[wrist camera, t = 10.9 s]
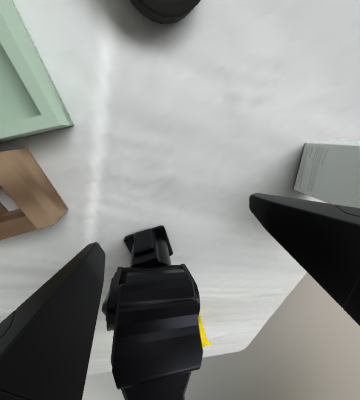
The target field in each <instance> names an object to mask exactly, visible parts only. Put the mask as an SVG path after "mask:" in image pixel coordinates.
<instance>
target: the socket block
mask: <svg viewBox="0 0 360 400" xmlns="http://www.w3.org/2000/svg"><path fill="white" fill-rule="evenodd" d="M0 186H1V187H2V188H3V189H4V190H5V191H6V193H7V194H8V195H9V196H10V197H11V198H12V200H13V201H14V202H15V203H16V204H17V206H18V207H19V208H20V209H17V210H13V211H10V212H9V211H8V210H7V209H6V208H5V207H4V206H3V205H2V204H1V202H0V240H2V239H5V238H9V237H12V236H16V235H19V234H23V233H26V232H30V231H33V230H37V229H40V228H44V227H47V226H51V225H54V224H55V223H56V222H57V221H58V220H59V219H60V218H61V217H62V216H63V215H64V214H65V213H66V212H67V210H68V208H67V206H66V205H65V203H64V202H63V200H62V199H61V197H60V196H59V194H58V193H57V191H56V190H55V188H54V187H53V185H52V184H51V183H50V181H49V180H48V178H47V177H46V175H45V174H44V172H43V171H42V169H41V168H40V166H39V165H38V163H37V162H36V160H35V159H34V157H33V156H32V154H31V153H30V151H29V150H28V148H22V149H16V150H10V151H3V152H0Z"/></svg>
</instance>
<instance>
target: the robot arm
mask: <svg viewBox="0 0 360 400" xmlns="http://www.w3.org/2000/svg"><path fill="white" fill-rule="evenodd" d="M249 208H250V210H251V212H252V213H253V214H254V215H255V217H256V218H257V219H258V221H259V222H260V223H261V224H262V226H263V227H264V228H265V229H266V230H267V231H268V232H269V233H270V234H271V235H272V237H273V238H274V239H275V240H276V241H277V242H278V243H279V244H280V245H281V246H282V247H283V248H284V249H285V250H286V251H287V252H288V253H289V254H290V255H291V256H292V257H293V258H294V259H295V260H296V261H297V262H298V263H299V264H300V265H301V266H302V267H303V268H304V269H305V270H306V271H307V272H308V273H309V274H310V275H311V276H312V277H313V278H314V279H315V280H316V281H317V282H318V283H319V285H320V286H321V287H322V288H323V289H324V290H326V292H327V293H328V294H329V295H330V296H331V297H332V298H333V299H334V300H335V301H336V302H337V303H338V304H339V305H340V306H341V307H342V308H343V309H344V310H345V311H346V312H347V313H348V314H349V315H350V316H351V317H352V318H353V319H354V320H355V321H356V322H357V323H358V324H359V326H360V208H357V207H349V206H342V205H333V204H328V203H321V202H315V201H308V200H301V199H294V198H287V197H281V196H274V195H267V194H260V193H255V194H252V195H250V197H249ZM161 228H163V229H161ZM127 239H129V240H127ZM124 242H125V244H126V245H127V247H128V249H129V251H130V253H131V263H130V267H127V268H123V267H118V269H117V273H115V275H114V277H113V278H112V280H111V285H110V289H109V292H108V294H107V297H106V299H105V301H104V303H103V306H102V312H103V313H104V314H105V315H106V322H107V331H111V330H114V336H113V345H112V354H111V364H112V373H113V376H114V380H115V383H116V386H117V388H118V389H121V390H122V393H123V395H124V398H125V400H184V394H185V391H186V388H187V384H188V381H189V377H190V375H191V371H194V370H198V369H200V366H201V361H202V355H203V347H202V342H201V336H200V329H199V321H198V316H199V312H200V297H199V292H198V288H197V285H196V283H195V281H194V279H193V277H192V276H191V274H190V272H189V270H188V269H187V267H186V265H185V264H181V265H171V261H170V256H171V255H172V254H173V251H172V248H171V245H170V242H169V239H168V236H167V233H166V230H165V227H164V226H158V227H155V228H152V229H148V230H144V231H141V232H138V233H135V234H132V235H129V236H126V237H125V238H124ZM104 267H105V253H104V251H103V250H102V248H101V246H100V245H99V243H97V242H95V243H91V244H89V245H87V246H86V247H85V248H84V249H83V250H82V251H81V252H79V253H78V254H77V255H76V256H75V257H74V258H73V259H72V260H71V261H69V262H68V263H67V264H66V265H65V266H64V267H63V268H62V269H60V270H59V271H58V272H57V273H56V274H55V275H54V276H53V277H51V278H50V279H49V280H48V281H47V282H46V283H45V284H44V285H43V286H41V287H40V288H39V289H38V290H37V291H36V292H35V293H34V294H32V295H31V296H30V297H29V298H28V299H27V300H26V301H25V302H23V303H22V304H21V305H20V306H19V307H18V308H17V309H16V310H15V311H13V312H12V313H11V314H10V315H9V316H8V317H7V318H6V319H4V320H3V321H2V322H1V323H0V400H82V396H83V391H84V385H85V380H86V374H87V369H88V364H89V358H90V353H91V347H92V342H93V337H94V331H95V326H96V320H97V315H98V310H99V304H100V299H101V293H102V288H103V281H104Z"/></svg>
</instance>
